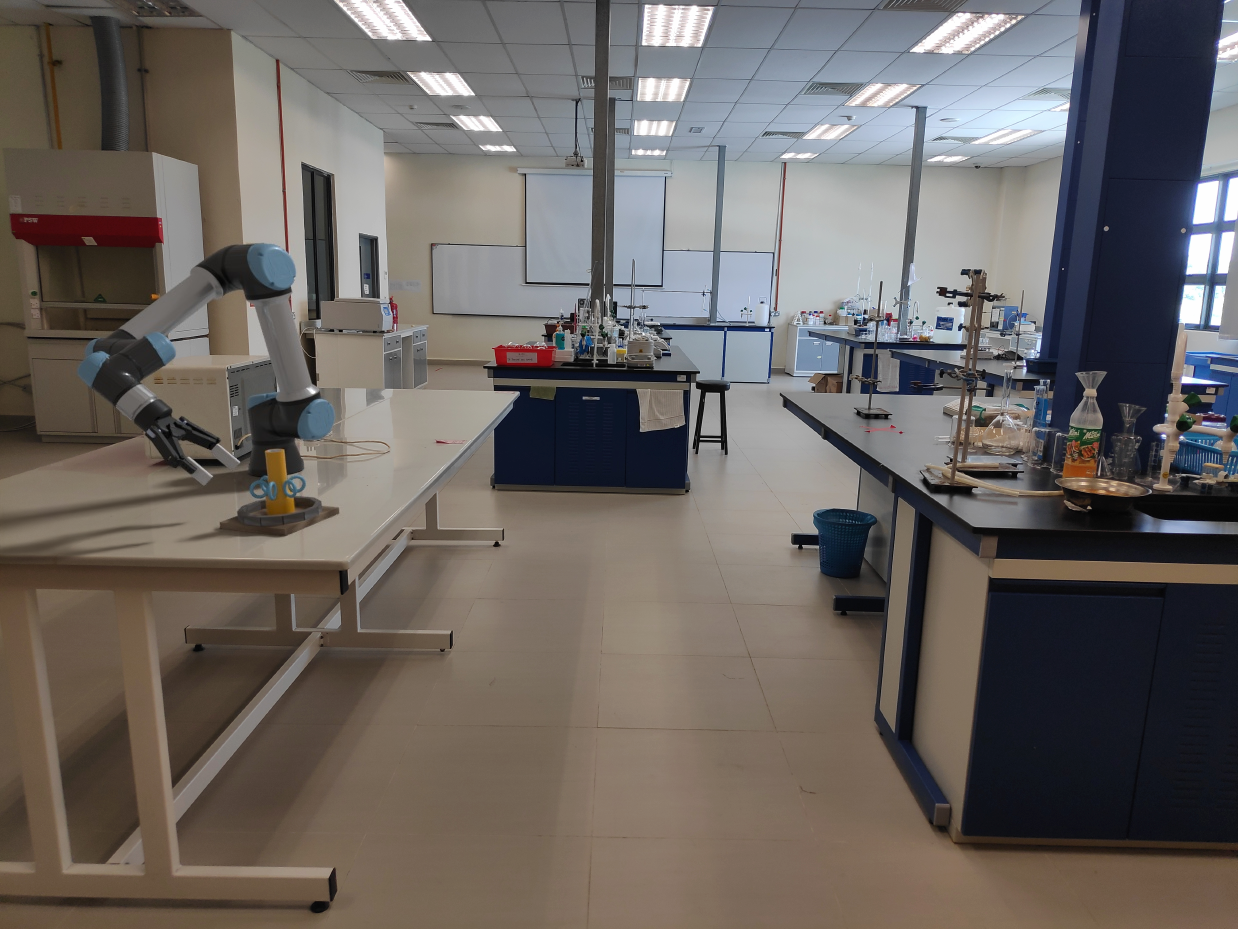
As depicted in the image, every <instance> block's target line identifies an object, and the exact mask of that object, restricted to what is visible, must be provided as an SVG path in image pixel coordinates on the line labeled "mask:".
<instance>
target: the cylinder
mask: <svg viewBox="0 0 1238 929" xmlns="http://www.w3.org/2000/svg"><path fill="white" fill-rule="evenodd" d="M265 456H266V465H267V475H268V476H261V477H260V479H258V480H255V481H253V482H252V483H251V485H250V486H249V494H250V495H251V496H252V498H255V499H260V500H262V499H264V498H265V500H266V510H267V515H268V516H269V515H283V514H288V513H294V512H295V506H294V497H295V496H297V494H299V493H301V492H303V491H304V490H305V488H306V486H307V483H306V482H307V481H306V479H305V478H304V476H302V475H299V474H294V475H292V476H290V477H288V476H289V475H288V474H287V472H286V463H285V453H284V449H271V450H266V451H265ZM295 479H299V480H300V481H301V482H302V484H301V487H300V488H297V485H296V483H295V482H294V481H293V480H295ZM265 480H267V481H265ZM257 485H259V487H260V489H261V491H262V494H256V493H255V491H254V488H255V487H256V486H257Z"/></svg>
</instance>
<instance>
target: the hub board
mask: <svg viewBox="0 0 1238 929" xmlns="http://www.w3.org/2000/svg"><path fill="white" fill-rule="evenodd" d="M294 506H295V512H294V513H288V514H283V515H269V516H268V515H267V510H266V500H265V499H264V498H263V499H260V500H256V501H252V502H250V503H246V504H244V505H242V506H240V507H239V509H237V511H236V514H237V515H236V516H233V517H230V518H227V519H225V520H222V521H219V527H220V529H221V530H228V531H229V530H230V531H238V532H245V533H246V532H248V533H257V534H265V535H275V536H282V537H286V536H288V534H289V535H290V534H291V535H292V534H293V532H294V533H296V532H298V531H301V530H304V529H306V528H308V527H311V526H312V525H315V524H317V523H319V522H322V521H325V520H327V519H329V518H332V517H334V516H336V514H337V515H339V514H340V508H339V507H338V506H332V505H331V506H330V505H329V506H328V505H323V504H322V500H320V499H318V498H316V497H313V496H304V495H303V496H302V495H296V496H295V497H294ZM305 527H306V528H305Z"/></svg>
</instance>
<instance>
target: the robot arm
mask: <svg viewBox="0 0 1238 929" xmlns="http://www.w3.org/2000/svg"><path fill="white" fill-rule="evenodd" d="M294 262H295V261H294V260H293V258H292V257H291V255H290V254H289V252H288V251H286V250H285V249H284V248H282V247H281V246H280V245H277V244H275V243H265V242H257V243H255V242H254V243H245V244H244V243H243V244H230V245H227V246H224V247H221V248H220V249H218V250H216V251H214V253H212V254H210V255H208V256H207V257H206V258H204V259H203V260H202V261H199V263H198V264H196V265H195V266H193V267H192V268H190V271H189V274H190V275H189V276H188V277H186V278H184V279H183V280H182V281H181V282H179V283H178V284H176V285H175V286H174V287H172V288H171V289H169V291H167V292H166V293H164V294H163V295H162V296H160V297H159V298H157V299H156V300H155V301H153V303H151V304H150V305H148V306H147V307H146V308H145V309H143V310H141V311H140V312H138V314H136V315H135V316H133V317H132V318H131V319H130V320H128V321H127V322H125V323H124V324H123V325H121V326H120V327H119V328H117V329H116V330H115V331H113V332H111V333H110V334H109V335H108V336H106V337H99V338H95V339H93V340H90V341H89V342H88V344H87V345H86V347H85V351H84V354H85V358H84V359H83V360H82V361H81V362H80V363H79V365H78V366H77V370H76V373H77V376H78V377H79V378H80V379H81V380H82V382H84V383H85V384H86V385H87V386H88V387H89V388H90V389H91V390H93V391H95V392H96V393H97V394H98V395H99V396H101V397H102V398H103V399H104V400H105V401H107V402H108V403H109V404H111V405H112V406H113V407H114V408H116V409H117V410H118V411H119V412H120V413H121V415H122V416H124V417H126V418H128V419H129V420H130V421H133V424H134V425H136V426H137V427H138V428H139V429H140V430H142V431H143V432H144V436H145V437H146V438H147V439H148V440H150V442H151V443H152V444H153V446H154V448H155V449H156V450H157V452H158V453H159V454H160V455H161V457H162V459H163V460H164V462H166V464H167V465H168V466H170V467H172V468H174V469H178V467H180V468H181V469H183V470H184V471H185V472H186V473H187V474H189V475H190V476H191V477H192V478H193V479H195V480H196V481H197V482H199V484H201V485H202V486H203V487H205V486H206V485H207V484H208V483H209V482H210V481H211V480H212V479H213V477H214V475H212V474H211V473H210V472H208V471H207V470H206V469H205V468H204V467H202V466H201V465H200V463H198V462H196V461H195V460H194V459H193V458H191V457H190V456H187V457H186V456H185V453H184V450H183V448H182V446H181V443H180V441H182V442H189V443H192V444H194V445H196V446H198V447H201V448H204V449H206V450H209V453H210V455H212V456H214V457H215V458H216V459H217V460H218V461H219V462H220V463H221V464H223V465H224V466H226V467H227V469H228V470H230V471H231V472H233V471H234V470H235V469H236V468H237V467H238V466H239V465H240V464H241V461H240V460H239V459H237V458H236V457H235V456H234V455H233V454H231V453H230V452H229V451H228V450H227V449H225V448H224V447H223V446H222V445H220V442H222V440H221V438H220V437H219V436H217V435H215V434H213V433H212V432H210V431H208V430H206V429H205V428H202V427H201V426H199V425H197V424H195V423H193V422H192V421H190V420H189V418H188V419H187V418H186V417H185V416H183V415H180V416H179V418H178V419H176V418H175V417H173V415H172V413H173V408H172V407H170V405H168V404H167V403H166V402H164V400H162V399H159V398H158V395H157V394H156V393H155V392H153V391H151V389H149V388H148V387H147V386H146V385H145V384H143V383H142V381H143V380H145V379H147V377H149V376H151V375H153V374H154V373H156V372H157V371H159V370H161V369H162V368H163V367H166V366H167V365H168V364H169V363H170V362H172V361H173V360H174V359H175V357H176V355H177V353H176V352H177V351H176V348H175V346H174V344H173V343H172V341H171V340H170V339H169V338H168V337H167V335H168V334H170V333H171V332H172V331H174V330H175V329H177V327H178V326H180V325H181V324H182V323H184V322H185V321H186V320H187V319H189V318H190V317H191V316H192V315H194V314H195V313H197V312H198V311H199V310H200V309H202V308H203V307H204V306H206V305H207V304H208V303H210V302H211V301H212V300H221V298H222V297H224V296H226V295H227V294H229V293H232V292H236V291H242V290H243V294H244V297H245V300H246V302H248V303H250V304H252V305H253V306H254V309H255V312H256V316H257V319H258V322H259V326H260V328H261V331H262V333H261V334H262V335H263V339H264V342H265V346H266V348H267V352H268V356H269V358H270V359H269V360H270V362H271V366H272V369H273V373H274V375H275V380H276V382H277V385H278V386H277V387H278V390H279V391H275V392H268V393H259V394H254V395H249V397H248V398H247V408H246V409H247V410H246V411H247V413H248V423H249V430H250V438H251V452H250V458H249V463H248V464H247V467H248V468H247V469H248V474H249V475H251V476H256V477H263V476H268V475H267V465H266V456H265V451H266V450H271V449H284V453H285V463H286V472H287V475H291V474H295V473H296V474H297V473H298V472H301V471H303V470H304V469H305V463H304V459H303V458H302V456H301V453H300V451H299V448H298V446H297V443H296V440H297V439H298V440H304V441H307V442H308V441H318V440H322V439H324V438H325V437H327V436H328V434H330V432H331V431H332V428H333V426H334V424H335V421H336V420H335V419H336V412H335V408H334V406H333V404H332V403H330V402H329V401H328V400H326V399H324V398H323V397H322V395H321V391H320V388H319V387H318V386H317V385H315V384H313V383H312V380H311V376H310V372H309V369H308V364H307V362H306V358H305V354H304V351H303V347H302V343H301V340H300V337H299V333H298V329H297V326H296V323H295V319H294V315H293V312H292V308H291V307H292V306H291V304H290V300H289V299H290V297H291V295H292V294H293V290H292V285H293V284H294V282H295V278H296V277H297V276H296V275H297V270H296V265H295V263H294Z"/></svg>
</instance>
